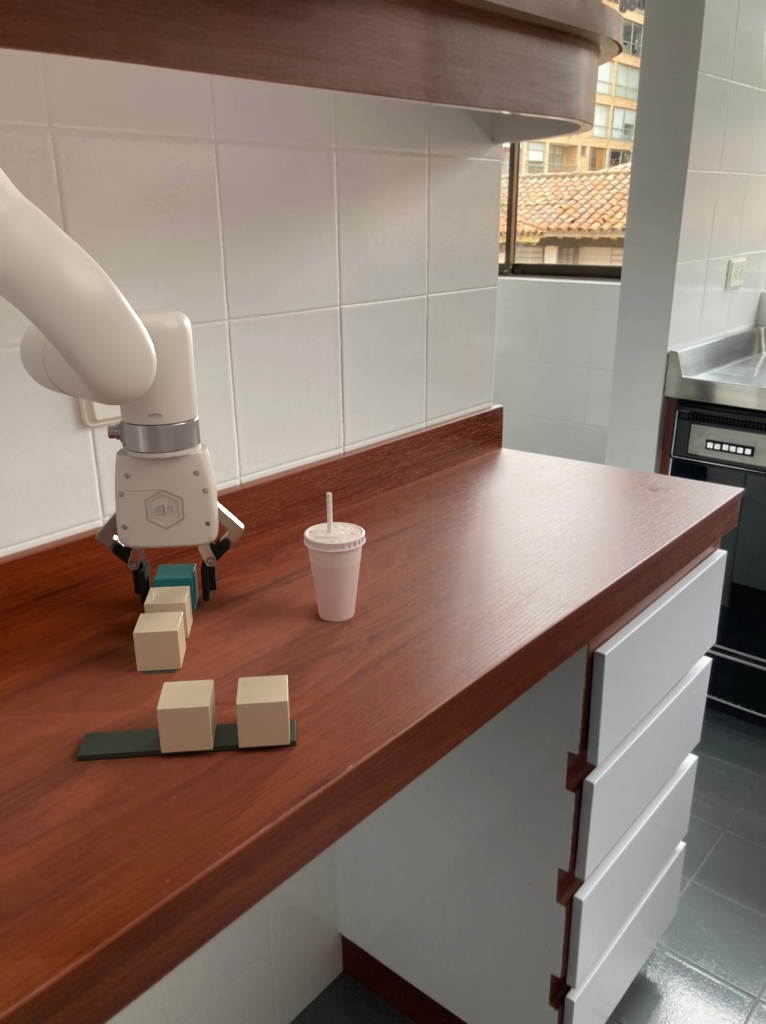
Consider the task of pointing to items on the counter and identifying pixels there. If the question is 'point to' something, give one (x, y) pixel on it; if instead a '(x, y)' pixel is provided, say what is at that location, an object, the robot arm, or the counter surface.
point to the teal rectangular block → (178, 578)
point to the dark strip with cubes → (204, 722)
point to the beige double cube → (163, 630)
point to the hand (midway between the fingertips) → (177, 596)
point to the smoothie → (335, 565)
